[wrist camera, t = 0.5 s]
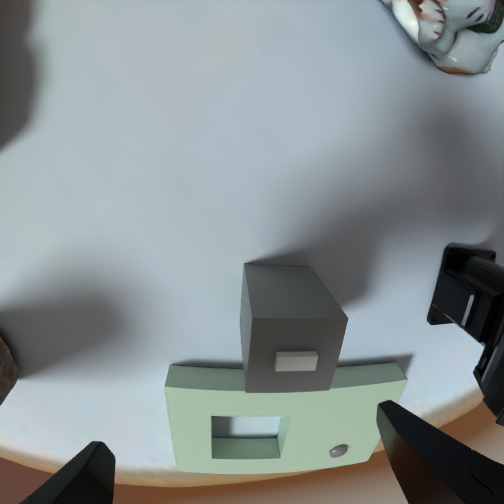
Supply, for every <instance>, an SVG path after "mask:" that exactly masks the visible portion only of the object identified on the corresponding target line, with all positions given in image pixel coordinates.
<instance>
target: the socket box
mask: <svg viewBox="0 0 504 504" xmlns="http://www.w3.org/2000/svg"><path fill="white" fill-rule="evenodd" d="M407 381H408V379H407V377H406V376H405V375H404V373H403V372H402V371H401V369H400V368H399V367H398V365H397V364H396V363H395V362H391V363H382V364H372V365H361V366H348V367H336V369H335V373H334V377H333V380H332V384H331V387H330V390H328V391H313V392H293V393H245V382H244V370H243V369H225V368H204V367H189V366H176V365H170V367H169V371H168V375H167V379H166V383H165V395H166V402H167V410H168V417H169V424H170V431H171V437H172V443H173V449H174V455H175V460H176V466H177V471H185V472H198V473H217V474H264V473H283V472H296V471H306V470H315V469H323V468H330V467H337V466H343V465H349V464H354V463H360V462H365V461H368V459H369V457H370V455H371V454H372V452H373V450H374V448H375V447H376V445H377V443H378V441H379V439H380V437H381V436H380V433H379V430H378V427H377V423H376V415H377V405H378V403H380V402H383V401H386V400H392V401H394V402H395V403H398V401H399V399H400V397H401V394H402V392H403V390H404V388H405V385H406V383H407ZM212 416H235V417H268V416H281V421H280V426H279V430H278V435H277V438H251V439H241V438H212Z"/></svg>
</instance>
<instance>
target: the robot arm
mask: <svg viewBox="0 0 504 504" xmlns="http://www.w3.org/2000/svg"><path fill="white" fill-rule="evenodd" d="M450 251H451V253H450ZM449 253H450V255H449ZM495 259H496V252H495V251H493V250H488V249H478V248H468V247H458V246H448V247H446V249H445V251H444V255H443V260H442V264H441V269H440V273H439V277H438V281H437V285H436V289H435V292H434V296H433V300H432V303H431V307H430V310H429V313H428V317H427V322H428V323H429V324H430V325H439V324H449V323H455V324H457V325H458V326H459V327H460V328H462V329H463V330H464V331H466V332H467V333H468V334H469V335H470V336H472V337H473V338H474V339H475V340H476V341H477V342H479V343H480V344H481V345H482V346H484V347H485V348H484V350H483V353H482V355H481V357H480V360H479V362H478V365H477V366H476V367H475V369H474V371H473V374H474V376H475V378H476V380H477V382H478V385H479V387H480V389H481V391H482V393H483V395H484V397H483V401H484V403H485V404H486V406H487V407H488V409H490V411H491V412H492V413H493V414H494V415H495V416H496V417H497V419H496V423H497V424H499V425H502V426H504V267H502V266H500V265H498V264H496V263H495ZM433 317H434V318H433ZM376 423H377V427H378V430H379V433H380V436H381V439H382V442H383V445H384V448H385V451H386V454H387V457H388V460H389V463H390V465H391V468H392V470H393V472H394V474H395V476H396V478H397V480H398V482H399V484H400V487H401V489H402V491H403V493H404V495H405V497H406V499H407V501H408V504H504V465H503V464H500V463H498V462H495V461H493V460H491V459H489V458H487V457H486V456H484V455H482V454H480V453H478V452H476V451H474V450H472V451H471V448H469V447H468V446H466V445H464V444H462V443H461V442H459V441H457V440H455V439H454V438H452V437H451V436H449V435H447V434H445V433H444V432H442V431H440V430H439V429H437V428H436V427H434V426H432V425H431V424H429V423H427V422H426V421H424V420H422V419H421V418H419V417H418V416H416V415H414V414H413V413H411V412H410V411H408V410H406V409H405V408H403V407H402V406H400V405H399V404H397V403H395V402H394V401H392V400H386V401H383V402H380V403H378V405H377V415H376ZM115 463H116V460H115V456H114V454H113V453H112V452H111V451H110V449H109V448H108V447H107V446H106V444H105V443H104V442H101V441H92V442H91V443H90V444H88V445H87V446H86V447H85V448H84V449H83V450H82V451H81V452H79V453H78V454H77V455H76V456H75V457H74V458H73V459H71V460H70V461H69V462H68V463H67V464H66V465H65V466H63V467H62V468H61V469H60V470H59V471H58V472H56V473H55V474H54V475H53V476H52V477H51V478H50V479H48V480H47V481H46V482H45V483H44V484H42V486H40V487H39V488H38V489H37V490H35V491H34V492H33V493H32V495H29V496H28V497H27V498H26V499H24V500H23V501H22V502H21V503H19V504H112V503H113V495H114V478H115Z"/></svg>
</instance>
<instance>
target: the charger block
mask: <svg viewBox="0 0 504 504" xmlns="http://www.w3.org/2000/svg"><path fill="white" fill-rule="evenodd" d="M347 322H348V317H347V316H346V314H345V313H344V312H343V310H342V309H341V308H340V306H339V305H338V304H337V302H336V301H335V299H334V298H333V297H332V295H331V294H330V293H329V291H328V290H327V289H326V287H325V286H324V285H323V283H322V282H321V281H320V279H319V278H318V277H317V275H316V274H315V273H314V271H313V270H312V269H311V267H308V266H286V265H265V264H244V270H243V284H242V298H241V313H240V332H241V345H242V357H243V370H244V382H245V393H293V392H313V391H328V390H330V387H331V384H332V380H333V377H334V373H335V369H336V366H337V362H338V358H339V354H340V350H341V346H342V342H343V338H344V334H345V330H346V326H347Z"/></svg>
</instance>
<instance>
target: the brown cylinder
mask: <svg viewBox="0 0 504 504" xmlns="http://www.w3.org/2000/svg"><path fill="white" fill-rule="evenodd" d="M17 378H18V370H17V366H16V365H15V362H14V360H13V358H12V356H11V353H10V350H9V348H8V346H7V345H6V344H5V343H4V341H3V340H2V338H1V336H0V405H1V404H2V403H3V401H4V400H5V398H6V397H7V395H8V394H9V392H10V391H11V390H12V388H13V387H14V385H15V384H16V382H17Z"/></svg>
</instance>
